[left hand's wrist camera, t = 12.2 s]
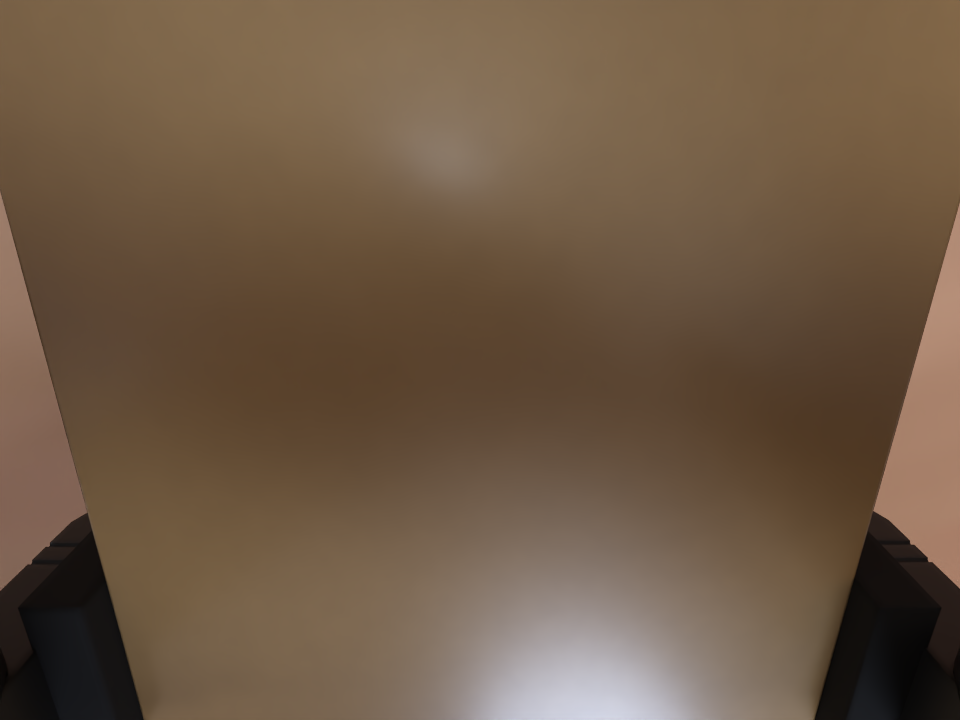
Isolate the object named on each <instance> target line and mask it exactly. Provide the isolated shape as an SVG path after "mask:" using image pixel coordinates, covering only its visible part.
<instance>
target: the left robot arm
mask: <svg viewBox="0 0 960 720" xmlns="http://www.w3.org/2000/svg"><path fill="white" fill-rule="evenodd" d="M0 720H144V719H143V715H142V712H141V708H140V704H139V701H138V697H137V693H136V690H135V686H134V682H133V678H132V675H131V671H130V667H129V664H128V660H127V656H126V653H125V649H124V645H123V642H122V638H121V634H120V630H119V627H118V623H117V619H116V616H115V612H114V608H113V605H112V601H111V597H110V594H109V590H108V586H107V583H106V579H105V575H104V571H103V568H102V564H101V560H100V557H99V553H98V549H97V546H96V542H95V538H94V535H93V531H92V527H91V523H90V520H89V516H88V513H86V514H84V515H83V516H81V517H79V518H78V519H76V520H74V521H73V522H71V523H70V524H69V525H68V526H67V527H66V528H65V529H64V530H63V531H62V532H61V533H60V534H59V535H58V536H57V537H56V538H55V539H54V540H52V541H51V542H50V546H49V547H45V548H44V549H43V550H42V551H41V552H40V553H39V554H38V555H37V556H36V557H35V558H34V559H33V560H32V564H31V565H27V566H26V567H25V568H24V569H23V570H22V571H21V572H20V573H19V574H17V575H16V576H15V577H14V578H13V579H12V580H11V581H10V582H9V583H8V584H7V585H6V586H5V587H4V588H3V589H2V590H1V591H0ZM815 720H960V589H959V588H958V587H957V586H956V585H955V584H954V583H953V582H952V581H951V580H950V579H949V578H948V577H947V576H946V575H945V574H944V573H943V572H942V571H941V570H940V569H939V568H938V567H937V566H936V565H935V564H934V563H933V562H928V558H927V557H926V556H925V555H924V554H923V553H922V552H921V551H920V550H919V549H918V548H917V547H916V546H915V545H911V544H910V540H909V539H908V538H907V537H906V536H905V535H904V534H902V533H901V532H900V531H899V530H898V529H897V528H896V527H895V526H894V525H893V524H892V523H891V522H890V521H889V520H887V519H886V518H884V517H882V516H881V515H879V514H877V513H876V512H874V511H873V513H872V517H871V520H870V524H869V527H868V531H867V535H866V538H865V542H864V545H863V549H862V552H861V556H860V559H859V563H858V567H857V570H856V574H855V577H854V581H853V584H852V588H851V592H850V595H849V599H848V602H847V606H846V609H845V613H844V616H843V620H842V624H841V627H840V631H839V634H838V638H837V641H836V645H835V649H834V652H833V656H832V659H831V663H830V666H829V670H828V673H827V677H826V681H825V684H824V688H823V691H822V695H821V698H820V702H819V706H818V709H817V713H816V716H815Z"/></svg>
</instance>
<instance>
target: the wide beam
mask: <svg viewBox="0 0 960 720" xmlns="http://www.w3.org/2000/svg"><path fill="white" fill-rule="evenodd" d="M0 191H1V195H2V199H3V203H4V206H5V210H6V214H7V217H8V221H9V225H10V228H11V232H12V236H13V239H14V243H15V247H16V250H17V254H18V258H19V262H20V265H21V269H22V273H23V276H24V280H25V284H26V287H27V291H28V295H29V298H30V302H31V306H32V310H33V313H34V317H35V321H36V324H37V328H38V332H39V335H40V339H41V343H42V346H43V350H44V354H45V357H46V361H47V365H48V369H49V372H50V376H51V380H52V383H53V387H54V391H55V394H56V398H57V402H58V405H59V409H60V413H61V416H62V420H63V424H64V428H65V431H66V435H67V439H68V442H69V446H70V450H71V453H72V457H73V461H74V464H75V468H76V472H77V476H78V479H79V483H80V487H81V490H82V494H83V498H84V501H85V505H86V509H87V512H88V516H89V520H90V523H91V527H92V531H93V535H94V538H95V542H96V546H97V549H98V553H99V557H100V560H101V564H102V568H103V571H104V575H105V579H106V583H107V586H108V590H109V594H110V597H111V601H112V605H113V608H114V612H115V616H116V619H117V623H118V627H119V630H120V634H121V638H122V642H123V645H124V649H125V653H126V656H127V660H128V664H129V667H130V671H131V675H132V678H133V682H134V686H135V690H136V693H137V697H138V701H139V704H140V708H141V712H142V715H143V719H144V720H815V716H816V713H817V709H818V706H819V702H820V698H821V695H822V691H823V688H824V684H825V681H826V677H827V673H828V670H829V666H830V663H831V659H832V656H833V652H834V649H835V645H836V641H837V638H838V634H839V631H840V627H841V624H842V620H843V616H844V613H845V609H846V606H847V602H848V599H849V595H850V592H851V588H852V584H853V581H854V577H855V574H856V570H857V567H858V563H859V559H860V556H861V552H862V549H863V545H864V542H865V538H866V535H867V531H868V527H869V524H870V520H871V517H872V513H873V510H874V506H875V502H876V499H877V495H878V492H879V488H880V485H881V481H882V478H883V474H884V470H885V467H886V463H887V460H888V456H889V453H890V449H891V445H892V442H893V438H894V435H895V431H896V428H897V424H898V421H899V417H900V413H901V410H902V406H903V403H904V399H905V396H906V392H907V388H908V385H909V381H910V378H911V374H912V371H913V367H914V364H915V360H916V356H917V353H918V349H919V346H920V342H921V339H922V335H923V332H924V328H925V324H926V321H927V317H928V314H929V310H930V307H931V303H932V299H933V296H934V292H935V289H936V285H937V282H938V278H939V275H940V271H941V267H942V264H943V260H944V257H945V253H946V250H947V246H948V242H949V239H950V235H951V232H952V228H953V225H954V221H955V218H956V214H957V210H958V207H959V203H960V0H0Z"/></svg>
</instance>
